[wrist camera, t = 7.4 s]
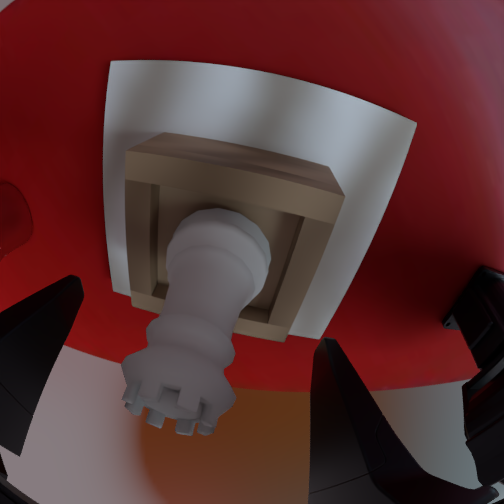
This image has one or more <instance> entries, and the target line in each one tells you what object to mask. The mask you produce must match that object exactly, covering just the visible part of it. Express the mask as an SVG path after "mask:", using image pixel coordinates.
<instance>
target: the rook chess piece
mask: <svg viewBox="0 0 504 504" xmlns="http://www.w3.org/2000/svg"><path fill="white" fill-rule="evenodd" d="M270 261H271V255H270V248H269V242H268V240H267V239H266V237H265V236H264V234H263V233H262V231H261V230H260V228H259V227H258V225H256V224H255V223H253V222H252V221H250V220H249V219H248V218H246V217H245V216H243V215H242V214H240V213H237V212H233V211H229V210H225V209H221V208H214V209H206V210H199V211H196V212H195V213H193V214H191V215H190V216H188V217H187V218H185V219H183V220H182V221H181V223H180V224H179V226H178V227H177V229H176V231H175V232H174V234H173V238H172V240H171V241H170V243H169V244H168V247H167V257H166V269H167V272H168V278H167V279H168V282H169V288H168V291H167V295H166V299H165V302H164V306H163V309H162V311H161V314H160V316H159V318H157V319H154V320H152V321H151V323H150V324H149V325H148V327H147V328H146V333H147V341H148V347H147V348H145V349H143V350H140V351H138V352H135V353H133V354H131V355H128V356H126V358H125V359H124V361H123V362H122V364H121V367H122V370H123V374H124V377H125V380H126V384H127V387H126V390H125V392H124V395H123V398H122V400H124V401H126V404H125V407H126V408H127V409H128V410H129V411H130V412H131V413H132V414H134V415H140V414H141V412H142V409H143V406H145V407H147V408H148V409H150V410H149V413H148V416H147V419H146V422H147V423H149V424H151V425H154V426H156V427H158V428H161V427H162V425H163V422H164V418H165V416H166V417H169V418H173V419H176V420H178V421H177V425H176V428H175V431H176V433H178V434H184V435H191V436H192V434H193V430H194V426H195V423H196V422H197V423H198V422H199V426H198V430H197V432H198V433H200V434H203V435H208V434H211V433H214V429H215V427H216V424H217V419H218V417H219V416H220V415H221V414H223V413H224V412H226V411H227V410H228V409H230V408H231V407H232V406H233V404H234V401H235V399H236V396H235V394H234V392H233V390H232V388H231V386H230V384H229V382H228V381H227V379H226V377H225V376H224V368H226V367H227V366H228V365H230V364H231V363H232V362H233V359H234V356H235V351H234V348H233V345H232V342H231V337H232V332H233V329H234V327H235V324H236V322H237V319H238V317H239V314H240V311H241V310H242V309H243V308H244V307H245V306H246V305H247V304H248V303H250V302H251V300H252V299H253V298H254V297H255V296H256V295H258V294H259V293H260V291H261V290H262V288H263V286H264V283H265V280H266V277H267V274H268V272H269V271H268V267H269V264H270Z"/></svg>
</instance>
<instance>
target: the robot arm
mask: <svg viewBox="0 0 504 504" xmlns="http://www.w3.org/2000/svg"><path fill="white" fill-rule="evenodd" d="M83 298H84V291H83V287H82V283H81V279H80V278H79V277H77V276H74V275H68V276H67V277H65V278H63V279H61V280H59V281H57V282H55V283H53V284H51V285H49V286H47V287H45V288H44V289H42V290H40V291H38V292H36V293H34V294H32V295H31V296H29V297H27V298H25V299H23V300H22V301H20V302H18V303H16V304H14V305H13V306H11V307H9V308H7V309H6V310H4V311H2V312H1V313H0V445H1V446H3V447H4V448H6V449H8V450H9V451H11V452H12V453H14V454H16V455H18V456H20V455H21V452H22V449H23V445H24V442H25V439H26V436H27V433H28V430H29V426H30V424H31V421H32V418H33V415H34V412H35V409H36V406H37V404H38V401H39V399H40V396H41V394H42V391H43V389H44V386H45V384H46V382H47V379H48V377H49V375H50V372H51V370H52V368H53V366H54V363H55V361H56V359H57V357H58V355H59V353H60V351H61V349H62V347H63V345H64V342H65V340H66V338H67V336H68V334H69V332H70V330H71V328H72V325H73V323H74V320H75V318H76V315H77V313H78V310H79V308H80V306H81V303H82V301H83ZM442 325H443V327H444V328H446V329H454V330H460V331H461V333H462V335H463V337H464V339H465V341H466V344H467V346H468V348H469V349H470V351H471V353H472V355H473V358H474V360H475V362H476V365H477V367H478V368H479V369H480V372H479V373H478V374H477V375H476V376H474V377H473V378H472V379H471V380H470V381H469V382H466V383H465V384H464V385H463V386H462V395H463V409H464V431H465V436H466V439H467V441H466V445H467V447H468V448H469V450H470V451H471V453H472V456H473V458H474V460H475V465H476V470H477V476H478V481H479V482H480V483H481V484H482V485H483V486H481V487H479V488H477V489H467V488H464V487H461V486H458V485H456V484H453V483H450V482H448V481H445V480H443V479H440V478H438V477H435V476H433V475H431V474H428V473H427V472H426V471H424V470H423V469H422V468H421V467H420V465H419V464H418V463H417V462H416V460H415V459H414V458H413V457H412V455H411V454H410V453H409V451H408V450H407V449H406V447H405V446H404V445H403V443H402V442H401V441H400V439H399V438H398V437H397V435H396V434H395V432H394V431H393V430H392V428H391V426H390V425H389V423H388V421H387V420H386V418H385V417H384V415H382V412H381V410H380V409H379V407H378V405H377V404H376V402H375V401H374V399H373V397H372V396H371V394H370V393H369V391H368V389H367V388H366V386H365V385H364V383H363V381H362V380H361V378H360V377H359V375H358V373H357V372H356V370H355V369H354V367H353V366H352V364H351V362H350V361H349V359H348V358H347V356H346V355H345V353H344V352H343V350H342V348H341V347H340V345H339V344H338V342H337V341H336V340H335V339H334V338H328V337H324V338H323V339H322V340H321V342H320V344H319V345H318V347H317V349H316V350H315V353H314V358H313V370H312V380H311V390H310V476H309V497H308V504H487V503H489V502H490V501H492V500H494V499H495V498H497V497H498V496H499V493H498V491H497V490H496V489H495V488H493V487H491V485H493V484H495V483H497V482H499V483H501V484H503V485H504V274H503V273H501V272H498V271H496V270H493V269H491V268H488V267H485V266H482V267H480V268H479V269H478V271H477V273H476V274H475V276H474V277H473V279H472V280H471V282H470V283H469V285H468V287H467V288H466V290H465V291H464V292H463V294H462V295H461V297H460V298H459V300H458V301H457V303H456V304H455V305H454V307H453V308H452V309H451V311H450V312H449V313H448V315H447V316H446V317H445V319H444V320H443V322H442ZM7 476H8V475H7V472H6V470H5V467H4V464H3V461H2V457H1V454H0V504H39V503H37V502H36V501H34V500H32V499H31V498H30V497H28V496H27V495H25V494H24V493H22V492H21V491H19V490H18V489H17V488H16V487H14V486H13V485H12V484H10V483H9V482H8V481H7ZM492 504H504V499H502V500H499V501H497V502H495V503H492Z"/></svg>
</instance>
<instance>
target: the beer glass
mask: <svg viewBox="0 0 504 504" xmlns="http://www.w3.org/2000/svg"><path fill="white" fill-rule="evenodd" d="M31 235H32V219H31V214H30V211H29V208H28V206H27V203H26V201H25V199H24V198H23V196H22V195H21V193H20V192H19V191H18V190H17V189H16V188H15V187H14V186H13V185H11V184H9V183H2V184H0V261H1V260H2V259H3V258H4V257H5V256H6V255H8V254H9V253H10V252H12V251H13V250H15V249H17V248H18V247H20V246H22V245H23V244H25V243H26V242H28V240H29V239H30V237H31Z"/></svg>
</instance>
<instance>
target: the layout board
mask: <svg viewBox="0 0 504 504" xmlns="http://www.w3.org/2000/svg"><path fill="white" fill-rule="evenodd" d="M416 125H417V123H416V122H413V121H411V120H409V119H407V118H405V117H403V116H401V115H398V114H396V113H394V112H392V111H389V110H387V109H385V108H382V107H380V106H377V105H375V104H372V103H370V102H367V101H364V100H362V99H359V98H356V97H353V96H351V95H348V94H345V93H342V92H339V91H336V90H333V89H329V88H326V87H323V86H320V85H316V84H313V83H309V82H305V81H301V80H298V79H294V78H290V77H285V76H281V75H276V74H272V73H267V72H262V71H257V70H251V69H245V68H239V67H232V66H225V65H217V64H209V63H198V62H185V61H165V60H127V61H111V65H110V71H109V79H108V87H107V96H106V106H105V119H104V138H103V194H104V214H105V228H106V239H107V248H108V257H109V265H110V272H111V279H112V286H113V291H115V292H118V293H121V294H124V295H128V296H131V300H132V306H134V307H137V308H141V309H144V310H147V311H151V312H154V313H158V314H161V311H162V309H163V306H164V302H165V299H166V295H167V291H168V288H169V282H168V279H167V278H168V272H167V269H166V257H167V247H168V244H169V243H170V241H171V240H172V238H173V234H174V232H175V231H176V229H177V227H178V226H179V224H180V223H181V221H182V220H183V219H185V218H187V217H188V216H190V215H191V214H193V213H195V212H196V211H199V210H206V209H214V208H221V209H225V210H229V211H233V212H237V213H240V214H242V215H243V216H245V217H246V218H248V219H249V220H250V221H252V222H253V223H255V224H256V225H258V227H259V228H260V230H261V231H262V233H263V234H264V236H265V237H266V239H267V240H268V242H269V248H270V255H271V261H270V264H269V267H268V271H269V272H268V274H267V277H266V280H265V283H264V286H263V288H262V290H261V291H260V293H259V294H258V295H256V296H255V297H254V298H253V299H252V300H251V302H250V303H248V304H247V305H246V306H245V307H244V308H243V309H242V310H241V311H240V314H239V317H238V319H237V322H236V324H235V327H234V329H233V332H234V333H238V334H243V335H248V336H253V337H258V338H263V339H268V340H273V341H279V342H284V341H285V339H286V337H287V335H288V334H291V335H296V336H302V337H308V338H314V339H320V337H321V336H322V334H323V332H324V331H325V329H326V327H327V325H328V324H329V322H330V320H331V318H332V317H333V315H334V313H335V311H336V310H337V308H338V306H339V304H340V302H341V300H342V299H343V297H344V295H345V293H346V291H347V289H348V287H349V285H350V284H351V282H352V280H353V278H354V276H355V274H356V272H357V270H358V268H359V266H360V264H361V262H362V260H363V258H364V256H365V254H366V252H367V249H368V247H369V245H370V243H371V241H372V239H373V237H374V234H375V232H376V230H377V228H378V226H379V223H380V221H381V219H382V216H383V214H384V212H385V209H386V207H387V205H388V202H389V200H390V197H391V195H392V192H393V190H394V187H395V185H396V182H397V180H398V177H399V175H400V172H401V169H402V167H403V164H404V161H405V158H406V155H407V153H408V150H409V147H410V144H411V141H412V138H413V135H414V132H415V129H416Z"/></svg>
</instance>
